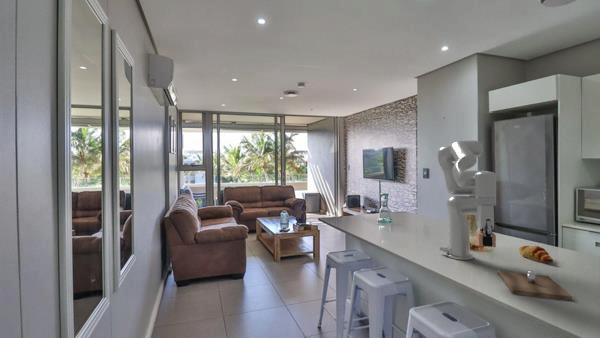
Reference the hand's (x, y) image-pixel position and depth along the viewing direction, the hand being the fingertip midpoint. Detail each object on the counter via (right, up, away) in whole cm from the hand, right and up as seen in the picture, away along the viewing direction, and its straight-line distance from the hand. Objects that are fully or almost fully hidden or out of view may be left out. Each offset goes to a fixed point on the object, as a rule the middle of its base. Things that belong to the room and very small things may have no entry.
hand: (485, 243), depth 125 cm
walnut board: (+14, -15, -7) cm, 22 cm away
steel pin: (+14, -14, -7) cm, 21 cm away
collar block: (0, -1, 0) cm, 1 cm away
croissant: (+41, -14, +26) cm, 51 cm away
